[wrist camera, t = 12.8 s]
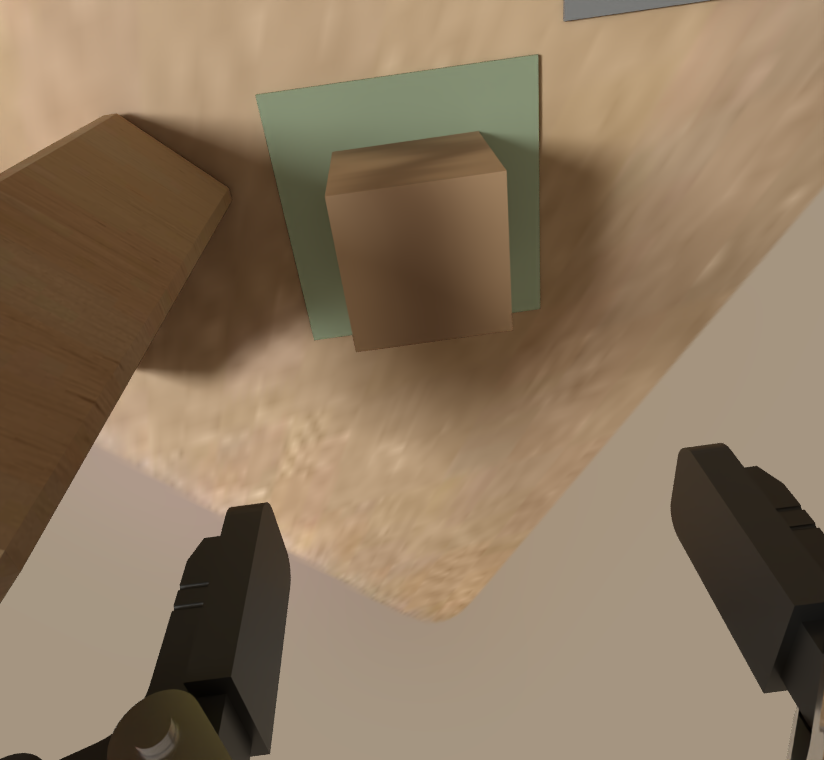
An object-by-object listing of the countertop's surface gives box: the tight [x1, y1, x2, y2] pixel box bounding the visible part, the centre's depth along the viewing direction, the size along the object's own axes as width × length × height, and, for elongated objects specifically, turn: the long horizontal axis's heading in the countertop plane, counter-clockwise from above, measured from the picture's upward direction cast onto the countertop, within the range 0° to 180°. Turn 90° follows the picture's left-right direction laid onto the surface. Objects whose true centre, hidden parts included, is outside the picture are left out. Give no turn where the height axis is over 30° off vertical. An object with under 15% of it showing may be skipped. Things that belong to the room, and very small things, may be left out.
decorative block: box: [0, 114, 232, 603], centre depth 19 cm, size 11×6×20 cm, turn 141°
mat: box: [255, 54, 540, 340], centre depth 27 cm, size 11×11×1 cm
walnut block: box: [325, 131, 512, 352], centre depth 25 cm, size 6×6×6 cm
